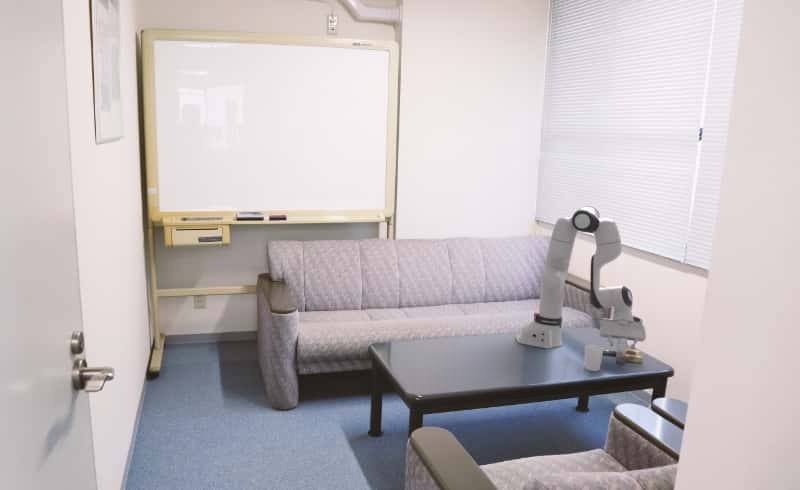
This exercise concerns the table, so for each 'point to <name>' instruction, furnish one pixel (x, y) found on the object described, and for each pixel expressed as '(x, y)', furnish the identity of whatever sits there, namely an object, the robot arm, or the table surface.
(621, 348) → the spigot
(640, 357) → the socket block
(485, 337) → the table surface
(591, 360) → the white cup
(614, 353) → the pin
